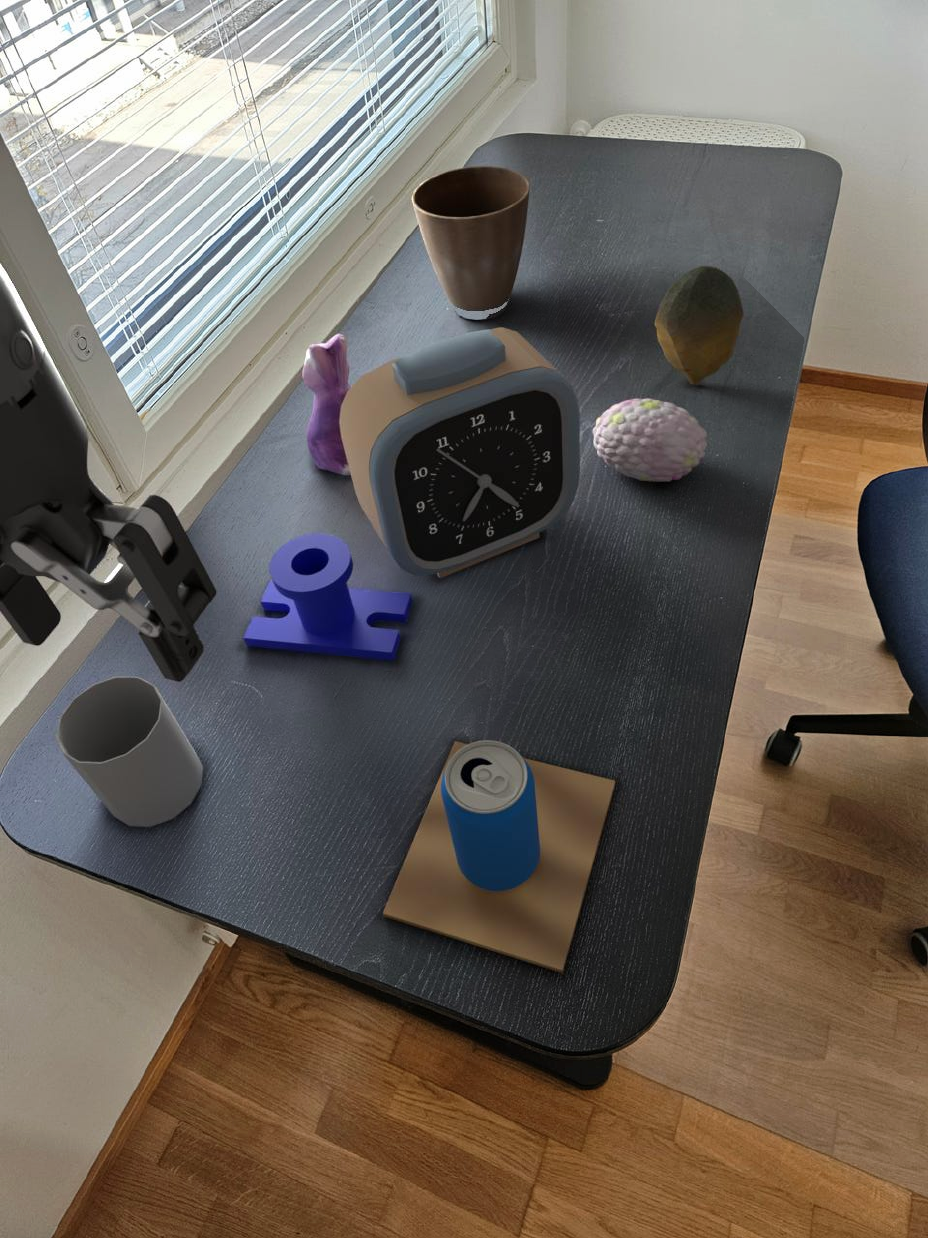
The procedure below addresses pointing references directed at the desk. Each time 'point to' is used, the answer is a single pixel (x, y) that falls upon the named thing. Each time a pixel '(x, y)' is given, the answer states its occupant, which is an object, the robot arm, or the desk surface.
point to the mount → (325, 604)
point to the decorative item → (649, 440)
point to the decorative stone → (699, 322)
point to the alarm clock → (462, 449)
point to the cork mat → (535, 910)
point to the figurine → (327, 402)
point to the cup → (130, 751)
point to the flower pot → (474, 232)
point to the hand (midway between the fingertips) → (113, 649)
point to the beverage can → (492, 815)
